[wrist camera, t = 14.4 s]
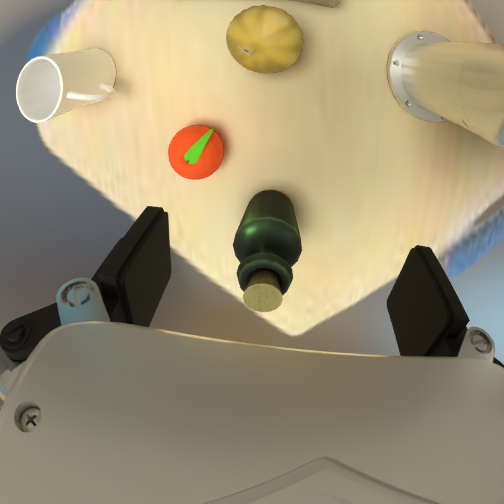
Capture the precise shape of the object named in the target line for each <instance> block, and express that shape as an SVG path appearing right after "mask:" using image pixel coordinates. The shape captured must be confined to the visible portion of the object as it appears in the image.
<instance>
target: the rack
mask: <svg viewBox="0 0 504 504" xmlns="http://www.w3.org/2000/svg"><path fill="white" fill-rule="evenodd" d="M293 1H300V2H306V3H312V4H318V5H323V6H328V7H334V6H335V5H336V4H337V3H338V2H339V1H340V0H293Z"/></svg>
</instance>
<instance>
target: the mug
mask: <svg viewBox="0 0 504 504" xmlns="http://www.w3.org/2000/svg"><path fill="white" fill-rule="evenodd" d="M115 79H116V67H115V63H114V61H113V59H112V57H111V56H110V55H109V54H108V53H107V52H106V51H104V50H101V49H97V48H93V49H88V50H85V51H77V52H68V53H60V54H52V55H46V56H40V57H36V58H34V59H32V60H30V61H29V62H28V63H27V64H26V65H25V66H24V68H23V69H22V71H21V73H20V75H19V78H18V81H17V86H16V98H17V103H18V106H19V109H20V111H21V112H22V114H23V115H24V116H25V117H26V118H27V119H28V120H30V121H32V122H35V123H40V122H44V121H47V120H49V119H51V118H54V117H56V116H59V115H61V114H63V113H66V112H69V111H71V110H74V109H76V108H79V107H82V106H84V105H87V104H94V103H97V102H100V101H101V100H106V99H109V98H111V97H112V96H113V95H114V93H115V89H114V88H113V86H114V83H115Z"/></svg>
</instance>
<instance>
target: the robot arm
mask: <svg viewBox="0 0 504 504" xmlns="http://www.w3.org/2000/svg"><path fill="white" fill-rule="evenodd" d="M417 36H419V39H418V37H417ZM393 61H394V62H395V65H393ZM387 74H388V81H389V84H390V87H391V90H392V92H393V94H394V96H395V98H396V99H397V101H398V102H399V103H400V105H401V106H402V107H403V108H404V109H405V110H407V111H408V112H409V113H411V114H412V115H414V116H416V117H418V118H419V119H422V120H425V121H429V122H442V121H446V120H450V121H452V122H454V123H456V124H458V125H460V126H462V127H464V128H465V129H467V130H469V131H471V132H473V133H475V134H477V135H478V136H480V137H482V138H484V139H485V140H487V141H489V142H491V143H493V144H495V145H497V146H499V147H501V148H504V45H501V44H490V43H473V42H450V41H449V40H448V39H446V38H444V37H443V36H441V35H439V34H436V33H433V32H426V31H421V32H414V33H410V34H408V35H406V36H403V37H402V38H401V39H400V40H399V41H397V43H396V44H395V45H394V47H393V48H392V50H391V52H390V55H389V58H388V63H387ZM406 101H407V104H405V102H406ZM170 276H171V258H170V241H169V221H168V213H167V212H164V210H163V208H161V207H152V206H147V207H146V209H145V210H144V211H143V212H142V214H141V215H140V216H139V218H138V219H137V220H136V221H135V223H134V224H133V225H132V227H131V228H130V229H129V231H128V232H127V233H126V235H125V236H124V237H123V238H121V239H120V240H119V241H118V242H117V244H116V245H115V246H114V248H113V249H112V251H111V252H110V253H109V255H108V256H107V258H106V259H105V260H104V262H103V263H102V265H101V266H100V267H99V269H98V270H97V272H96V273H95V275H94V276H93V278H92V279H91V280H90V279H87V278H77V279H73V280H71V281H69V282H67V283H66V284H64V285H63V286H62V287H61V288H60V289H59V291H58V293H57V303H54V304H52V305H49V306H47V307H44V308H42V309H39V310H37V311H34V312H32V313H29V314H27V315H24V316H22V317H20V318H17V319H15V320H13V321H11V322H9V323H8V324H7V325H6V326H5V327H4V328H3V330H2V331H1V334H0V504H504V365H503V364H502V363H501V362H500V361H498V360H497V359H496V358H494V353H495V346H494V342H493V340H492V338H491V337H490V336H489V334H488V333H487V332H485V331H484V330H483V329H481V328H478V327H471V328H469V329H467V327H466V325H467V323H468V322H469V321H470V320H469V318H468V316H467V314H466V312H465V310H464V308H463V306H462V304H461V302H460V300H459V298H458V296H457V294H456V292H455V290H454V289H453V287H452V285H451V283H450V281H449V279H448V277H447V275H446V274H445V272H444V270H443V269H442V267H441V265H440V263H439V261H438V260H437V258H436V256H435V254H434V253H433V251H432V249H431V248H430V247H425V246H419V245H417V246H415V248H412V249H411V250H410V252H409V254H408V257H407V259H406V261H405V263H404V265H403V268H402V270H401V272H400V274H399V276H398V278H397V280H396V283H395V285H394V287H393V289H392V291H391V293H390V295H389V297H388V299H387V309H388V312H389V315H390V319H391V322H392V326H393V329H394V333H395V336H396V340H397V344H398V348H399V352H400V355H401V356H388V355H366V354H351V353H336V352H323V351H311V350H301V349H290V348H282V347H273V346H265V345H257V344H249V343H242V342H234V341H227V340H221V339H213V338H207V337H202V336H196V335H190V334H184V333H178V332H172V331H167V330H161V329H156V328H150V327H149V326H150V323H151V321H152V318H153V316H154V314H155V311H156V309H157V306H158V304H159V302H160V300H161V297H162V295H163V293H164V290H165V288H166V286H167V284H168V281H169V279H170Z"/></svg>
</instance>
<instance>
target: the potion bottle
mask: <svg viewBox="0 0 504 504" xmlns="http://www.w3.org/2000/svg"><path fill="white" fill-rule="evenodd" d="M233 248H234V252H235V256H236V257H237V259H238V260H239V261H240V265H239V267H238V270H237V277H238V281H239V284H240V288H241V289H242V290H243V291H244V295H243V299H244V303H245V304H246V305H247V306H248V307H249V308H251V309H253V310H255V311H259V312H270V311H272V310H275V309H277V308H278V307H279V306H280V305H281V303H282V300H283V299H282V295H284V294H285V293H286V292H287V290H288V288H289V286H290V284H291V282H292V279H293V273H292V269H291V267H292V266H293V265H294V264H295V263H296V262H297V261H298V259H299V256H300V254H301V251H302V247H301V238H300V234H299V229H298V225H297V221H296V217H295V213H294V209H293V205H292V203H291V202H290V200H289V198H288V197H286V196H285V195H283V194H282V193H280V192H276V191H273V190H271V191H262V192H260V193H259V194H257V195H255V196H254V197H253V198H252V199H251V201H250V202H249V204H248V207H247V209H246V211H245V213H244V216H243V218H242V220H241V223H240V225H239V227H238V230H237V232H236V234H235V239H234V243H233Z"/></svg>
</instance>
